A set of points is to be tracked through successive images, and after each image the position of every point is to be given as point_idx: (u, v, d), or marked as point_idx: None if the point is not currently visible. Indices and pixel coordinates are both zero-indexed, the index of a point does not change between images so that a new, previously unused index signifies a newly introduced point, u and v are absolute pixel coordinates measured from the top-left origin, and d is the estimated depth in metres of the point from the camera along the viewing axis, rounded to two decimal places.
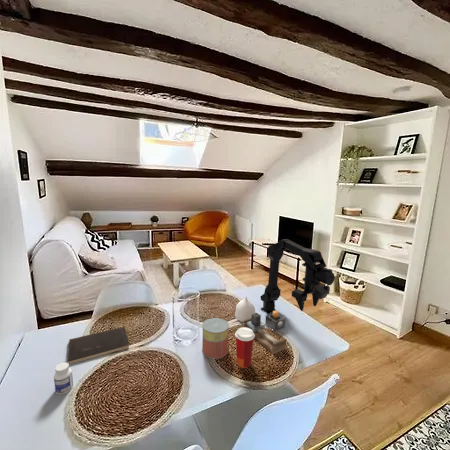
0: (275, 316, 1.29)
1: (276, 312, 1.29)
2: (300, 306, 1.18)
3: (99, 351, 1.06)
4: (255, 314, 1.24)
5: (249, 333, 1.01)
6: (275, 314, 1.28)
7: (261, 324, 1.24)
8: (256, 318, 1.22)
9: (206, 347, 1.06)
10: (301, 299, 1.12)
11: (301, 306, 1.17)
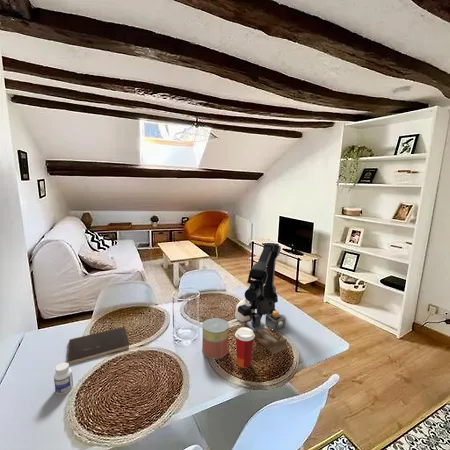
0: (275, 316, 1.29)
1: (276, 312, 1.29)
2: (251, 319, 1.23)
3: (99, 351, 1.06)
4: None
5: (249, 333, 1.01)
6: (275, 314, 1.28)
7: (261, 324, 1.24)
8: (256, 318, 1.22)
9: (206, 347, 1.06)
10: (245, 315, 1.16)
11: (252, 319, 1.23)
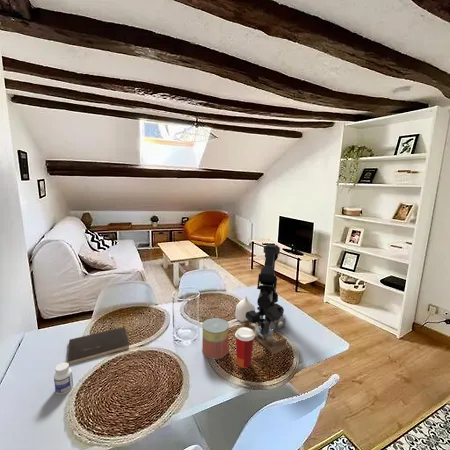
0: None
1: None
2: (259, 326, 1.18)
3: (99, 351, 1.06)
4: None
5: (249, 333, 1.01)
6: None
7: (270, 331, 1.19)
8: (265, 324, 1.17)
9: (206, 347, 1.06)
10: (253, 321, 1.11)
11: (260, 326, 1.17)
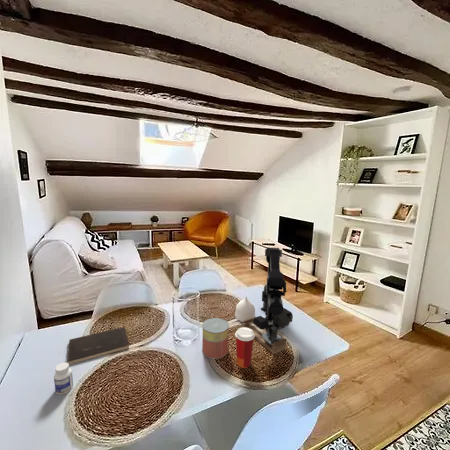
0: None
1: None
2: (267, 332, 1.13)
3: (99, 351, 1.06)
4: None
5: (249, 333, 1.01)
6: None
7: (278, 337, 1.14)
8: (273, 330, 1.13)
9: (206, 347, 1.06)
10: (261, 328, 1.07)
11: (268, 332, 1.13)
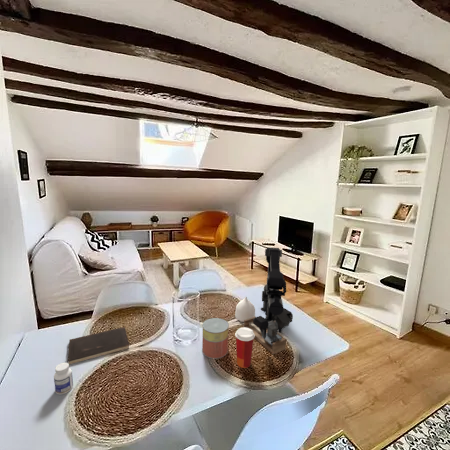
0: None
1: None
2: (262, 334, 1.12)
3: (99, 351, 1.06)
4: (271, 326, 1.15)
5: (249, 333, 1.01)
6: None
7: (278, 337, 1.14)
8: (273, 330, 1.12)
9: (206, 347, 1.06)
10: (261, 328, 1.07)
11: (263, 334, 1.11)
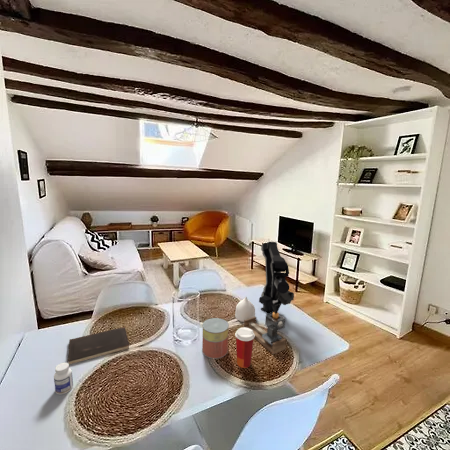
0: (275, 317, 1.29)
1: (276, 313, 1.29)
2: (274, 309, 1.29)
3: (99, 351, 1.06)
4: (271, 326, 1.15)
5: (249, 333, 1.01)
6: (275, 315, 1.29)
7: (278, 337, 1.14)
8: (273, 330, 1.12)
9: (206, 347, 1.06)
10: (267, 305, 1.21)
11: (275, 309, 1.28)
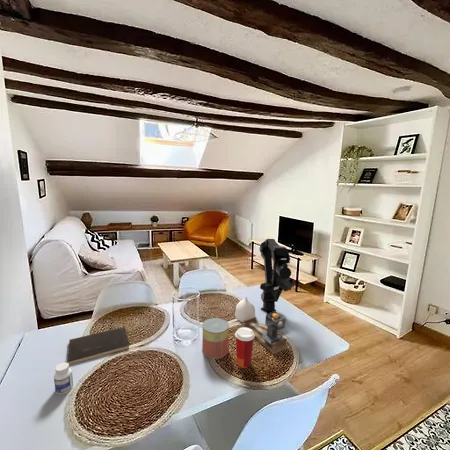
0: (275, 319, 1.29)
1: (276, 315, 1.30)
2: (275, 296, 1.31)
3: (99, 351, 1.06)
4: (271, 326, 1.15)
5: (249, 333, 1.01)
6: (274, 317, 1.29)
7: (278, 337, 1.14)
8: (273, 330, 1.12)
9: (206, 347, 1.06)
10: (268, 291, 1.23)
11: (275, 296, 1.30)
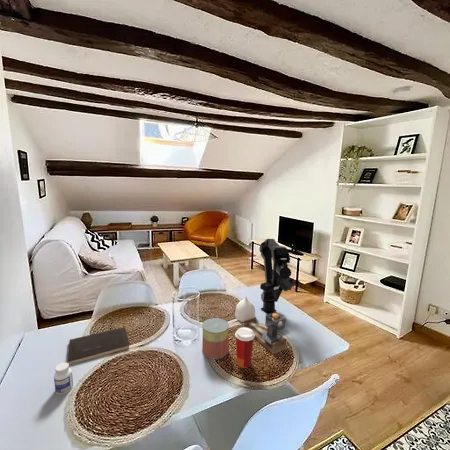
0: (275, 319, 1.29)
1: (276, 315, 1.30)
2: (275, 296, 1.31)
3: (99, 351, 1.06)
4: (271, 326, 1.15)
5: (249, 333, 1.01)
6: (274, 317, 1.29)
7: (278, 337, 1.14)
8: (273, 330, 1.12)
9: (206, 347, 1.06)
10: (268, 291, 1.23)
11: (276, 296, 1.30)
